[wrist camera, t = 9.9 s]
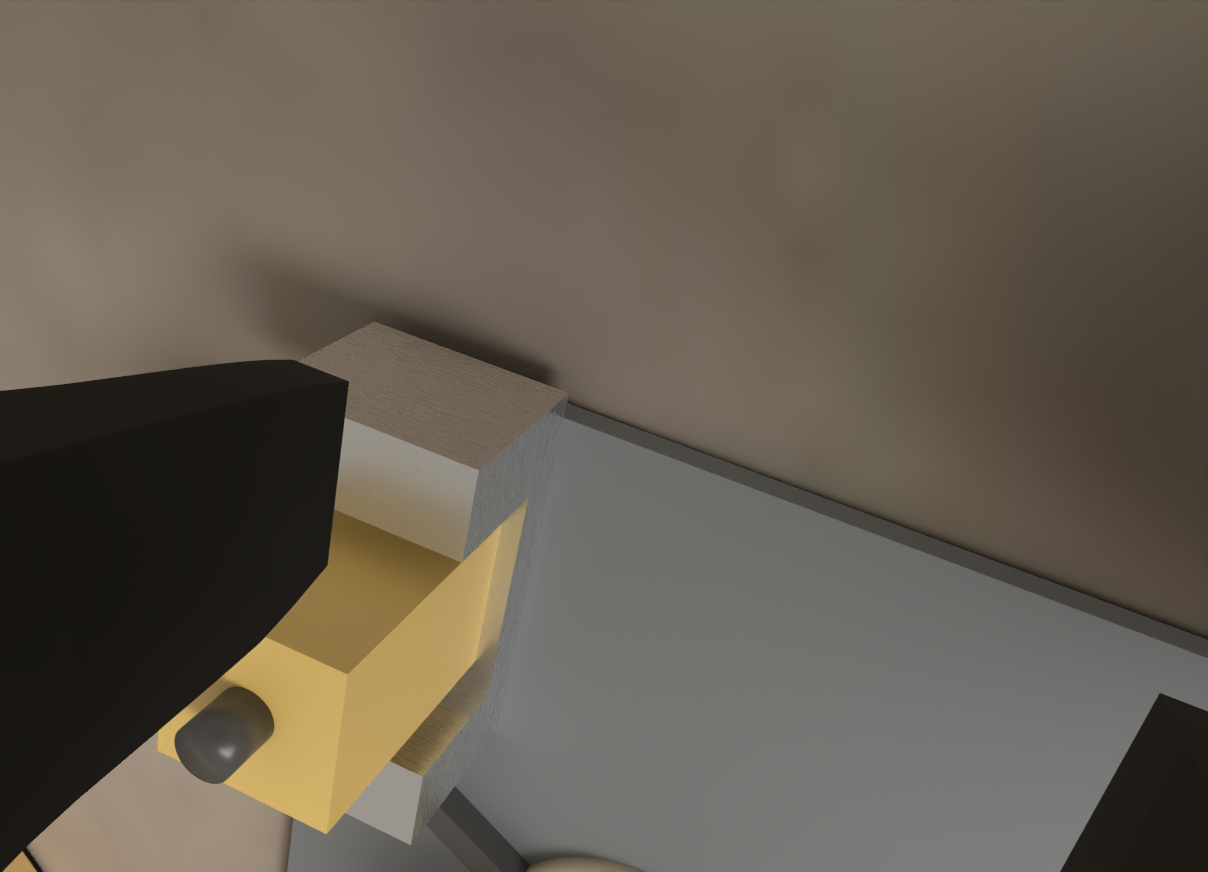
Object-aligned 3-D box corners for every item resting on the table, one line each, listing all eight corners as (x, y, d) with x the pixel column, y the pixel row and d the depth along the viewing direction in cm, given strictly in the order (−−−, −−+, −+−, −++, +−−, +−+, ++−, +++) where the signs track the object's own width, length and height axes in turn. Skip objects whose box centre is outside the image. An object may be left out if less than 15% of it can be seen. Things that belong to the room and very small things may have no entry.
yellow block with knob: (502, 523, 20) (306, 714, 15) (474, 661, 22) (287, 879, 17) (349, 461, 21) (114, 624, 16) (332, 599, 23) (112, 789, 18)
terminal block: (568, 392, 20) (478, 470, 17) (496, 732, 24) (410, 845, 21) (374, 321, 21) (255, 383, 18) (331, 658, 25) (228, 755, 22)
